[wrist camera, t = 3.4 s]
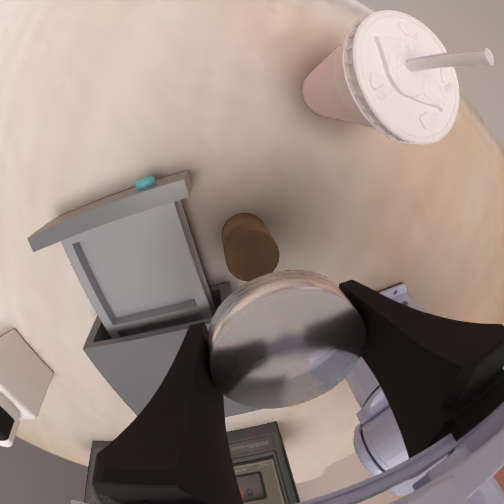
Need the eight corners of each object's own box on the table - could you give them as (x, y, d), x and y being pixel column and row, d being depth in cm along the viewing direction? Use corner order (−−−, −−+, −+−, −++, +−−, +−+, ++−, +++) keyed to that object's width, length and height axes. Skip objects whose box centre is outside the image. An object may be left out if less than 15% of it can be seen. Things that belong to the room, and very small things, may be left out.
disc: (346, 251, 9) (368, 272, 8) (347, 357, 12) (361, 381, 10) (187, 294, 9) (185, 325, 8) (230, 392, 11) (234, 420, 10)
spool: (260, 208, 20) (274, 226, 16) (269, 248, 21) (283, 273, 17) (216, 219, 19) (219, 240, 16) (228, 259, 21) (233, 287, 17)
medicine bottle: (-9, 341, 20) (-48, 409, 9) (15, 327, 20) (-32, 408, 9) (27, 381, 23) (0, 452, 12) (55, 372, 23) (26, 456, 12)
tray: (50, 213, 16) (24, 230, 13) (186, 162, 17) (181, 169, 13) (112, 339, 21) (103, 369, 18) (231, 312, 22) (237, 344, 18)
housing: (98, 314, 21) (82, 348, 17) (229, 281, 22) (235, 316, 17) (151, 394, 26) (148, 427, 22) (258, 373, 27) (266, 407, 22)
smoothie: (309, 37, 15) (449, -47, 2) (376, 87, 17) (538, 82, 4) (266, 104, 17) (403, 55, 4) (340, 151, 19) (508, 203, 6)
